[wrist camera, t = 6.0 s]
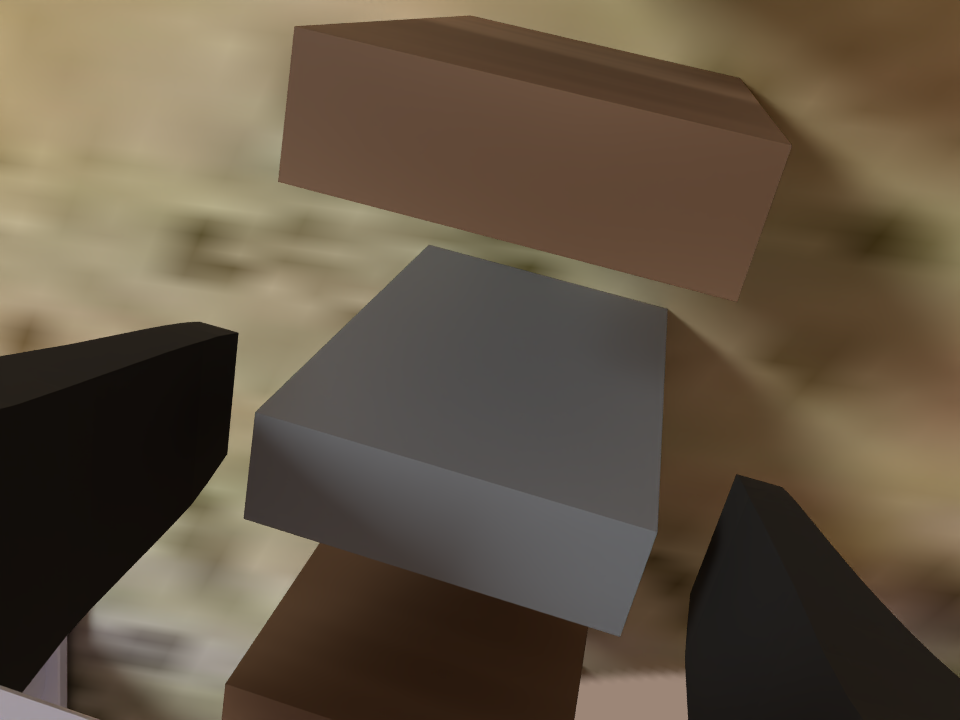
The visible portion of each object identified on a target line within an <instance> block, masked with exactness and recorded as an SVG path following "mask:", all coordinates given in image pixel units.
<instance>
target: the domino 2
mask: <svg viewBox="0 0 960 720" xmlns="http://www.w3.org/2000/svg"><path fill="white" fill-rule="evenodd" d="M587 631H588V627H587V626H584V625H581V624H578V623H574V622H571V621H568V620H565V619H562V618H559V617H555V616H552V615H549V614H546V613H543V612H539V611H536V610H533V609H530V608H527V607H523V606H520V605H517V604H514V603H511V602H508V601H504V600H501V599H498V598H495V597H492V596H488V595H485V594H482V593H479V592H476V591H473V590H469V589H466V588H463V587H460V586H457V585H453V584H450V583H447V582H444V581H441V580H437V579H434V578H431V577H428V576H425V575H422V574H418V573H415V572H412V571H409V570H406V569H402V568H399V567H396V566H393V565H390V564H386V563H383V562H380V561H377V560H374V559H371V558H367V557H364V556H361V555H358V554H355V553H351V552H348V551H345V550H342V549H339V548H335V547H332V546H329V545H326V544H323V543H319V545H318V546H317V548H316V549H315V551H314V552H313V554H312V555H311V557H310V558H309V560H308V561H307V563H306V564H305V566H304V567H303V569H302V570H301V572H300V573H299V575H298V576H297V578H296V579H295V581H294V582H293V584H292V585H291V587H290V588H289V590H288V591H287V593H286V594H285V596H284V597H283V599H282V600H281V602H280V603H279V605H278V606H277V608H276V609H275V611H274V612H273V614H272V615H271V617H270V618H269V620H268V621H267V623H266V624H265V626H264V627H263V629H262V630H261V632H260V633H259V635H258V636H257V638H256V639H255V641H254V642H253V644H252V645H251V647H250V648H249V649H248V651H247V652H246V654H245V655H244V657H243V658H242V660H241V661H240V663H239V664H238V666H237V667H236V669H235V670H234V672H233V673H232V675H231V676H230V678H229V679H228V681H227V682H226V684H225V693H224V703H223V712H222V720H574V718H575V711H576V704H577V698H578V691H579V685H580V678H581V671H582V665H583V658H584V651H585V645H586V638H587Z"/></svg>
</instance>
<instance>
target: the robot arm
mask: <svg viewBox="0 0 960 720" xmlns="http://www.w3.org/2000/svg"><path fill="white" fill-rule="evenodd" d="M237 343H238V333H237V332H234V331H230V330H227V329H223V328H220V327H216V326H213V325H209V324H206V323H202V322H187V323H178V324H172V325H165V326H160V327H154V328H149V329H144V330H139V331H134V332H129V333H124V334H119V335H114V336H109V337H104V338H99V339H94V340H89V341H84V342H79V343H74V344H69V345H64V346H58V347H52V348H46V349H40V350H34V351H28V352H23V353H17V354H11V355H5V356H0V720H99V719H97V718H94V717H91V716H88V715H85V714H82V713H79V712H76V711H73V710H70V709H68V708H67V635H68V634H69V633H70V632H71V631H72V629H73V628H74V627H75V626H76V625H77V624H78V623H79V622H80V620H81V619H82V618H83V617H84V616H85V615H86V614H87V613H88V611H89V610H90V609H91V608H92V607H93V606H94V605H95V604H96V603H97V602H98V601H99V600H100V599H101V598H102V597H103V596H104V595H105V594H106V593H107V592H108V591H109V590H110V589H111V588H112V587H113V586H114V585H115V584H116V583H117V582H118V581H119V579H120V578H121V577H122V576H123V575H124V574H125V573H126V572H127V571H128V570H129V569H130V568H131V567H132V566H133V565H134V564H135V563H136V562H137V561H138V560H139V559H140V558H141V557H142V556H143V555H144V554H145V553H146V552H147V551H148V550H149V549H150V548H151V547H152V546H153V545H154V544H155V543H156V542H157V541H158V539H159V538H160V537H161V536H162V535H163V534H164V533H165V532H166V531H167V530H168V529H169V528H170V527H171V526H172V525H173V524H174V523H175V522H176V521H177V520H178V518H179V517H180V516H181V515H182V514H183V513H184V512H185V511H186V510H187V509H188V508H189V507H190V506H191V504H192V503H193V502H194V500H195V499H196V498H197V496H198V495H199V494H200V492H201V491H202V490H203V488H204V487H205V486H206V484H207V483H208V481H209V480H210V479H211V477H212V476H213V474H214V473H215V471H216V470H217V468H218V467H219V465H220V464H221V462H222V461H223V459H224V458H225V457H226V455H227V451H228V440H229V429H230V419H231V408H232V397H233V386H234V376H235V365H236V354H237ZM685 669H686V687H687V705H688V706H687V707H688V720H960V678H959V677H958V676H957V675H955V674H954V673H953V672H952V671H951V670H950V669H949V668H948V667H947V666H945V665H944V664H943V663H942V662H941V661H940V660H939V659H938V658H936V657H935V656H934V655H933V654H932V653H931V652H930V651H929V650H928V649H927V648H926V647H925V646H924V645H923V644H922V643H921V642H920V641H919V640H918V639H917V638H915V637H914V636H913V635H912V634H911V632H910V631H909V630H908V629H907V628H906V627H905V626H904V625H903V624H902V623H901V622H900V621H899V620H898V619H897V618H896V617H895V616H894V615H893V614H892V613H891V612H890V611H889V610H888V609H887V607H886V606H885V605H884V604H883V603H882V602H881V601H880V600H879V599H878V598H877V597H876V596H875V595H874V593H873V592H872V591H871V590H870V589H869V588H868V587H867V586H866V585H865V584H864V582H863V581H862V580H861V579H860V578H859V577H858V576H857V574H856V573H855V572H854V571H853V570H852V569H851V567H850V566H849V565H848V564H847V563H846V562H845V560H844V559H843V558H842V557H841V556H840V554H839V553H838V552H837V551H836V550H835V548H834V547H833V546H832V545H831V544H830V542H829V541H828V540H827V539H826V538H825V536H824V535H823V534H822V533H821V531H820V530H819V529H818V528H817V527H816V525H815V524H814V523H813V522H812V520H811V519H810V518H809V517H808V516H807V514H806V513H805V512H804V511H803V510H802V508H801V507H800V506H799V505H798V504H797V502H796V501H795V500H794V499H793V498H792V497H791V496H790V495H789V494H788V493H787V492H786V491H785V490H784V489H783V488H782V487H780V486H776V485H773V484H769V483H765V482H762V481H758V480H755V479H751V478H748V477H744V476H741V475H737V474H736V477H735V479H734V482H733V485H732V487H731V490H730V492H729V495H728V498H727V500H726V503H725V505H724V508H723V510H722V513H721V516H720V518H719V521H718V523H717V526H716V529H715V531H714V534H713V536H712V539H711V542H710V544H709V547H708V549H707V552H706V555H705V557H704V560H703V562H702V565H701V567H700V570H699V573H698V575H697V578H696V580H695V583H694V586H693V588H692V591H691V593H690V603H689V614H688V624H687V637H686V650H685Z"/></svg>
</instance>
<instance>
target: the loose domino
mask: <svg viewBox="0 0 960 720" xmlns="http://www.w3.org/2000/svg"><path fill="white" fill-rule="evenodd" d="M667 311H668V309H666V308H662V307H658V306H655V305H651V304H647V303H643V302H640V301H636V300H632V299H629V298H625V297H621V296H617V295H614V294H610V293H606V292H603V291H599V290H595V289H591V288H588V287H584V286H580V285H577V284H573V283H569V282H565V281H562V280H558V279H554V278H551V277H547V276H543V275H539V274H536V273H532V272H528V271H524V270H521V269H517V268H513V267H510V266H506V265H502V264H498V263H495V262H491V261H487V260H484V259H480V258H476V257H472V256H469V255H465V254H461V253H458V252H454V251H450V250H446V249H443V248H439V247H435V246H431V245H428V246H427V247H426V248H425V249H424V250H423V251H422V252H421V253H420V254H419V255H418V256H417V257H416V258H415V259H414V260H413V261H412V262H411V263H410V264H408V265H407V266H406V267H405V268H404V269H403V270H402V271H401V272H400V273H399V274H398V275H397V276H396V277H395V278H394V279H393V280H392V281H391V282H390V283H389V284H388V285H387V286H386V287H385V288H384V289H383V290H382V291H380V292H379V293H378V294H377V295H376V296H375V297H374V298H373V299H372V300H371V301H370V302H369V303H368V304H367V305H366V306H365V307H364V308H363V309H362V310H361V311H360V312H359V313H358V314H357V315H356V316H355V317H353V318H352V319H351V320H350V321H349V322H348V323H347V324H346V325H345V326H344V327H343V328H342V329H341V330H340V331H339V332H338V333H337V334H336V335H335V336H334V337H333V338H332V339H331V340H330V341H329V342H328V343H327V344H325V345H324V346H323V347H322V348H321V349H320V350H319V351H318V352H317V353H316V354H315V355H314V356H313V357H312V358H311V359H310V360H309V361H308V362H307V363H306V364H305V365H304V366H303V367H302V368H301V369H300V370H299V371H297V372H296V373H295V374H294V375H293V376H292V377H291V378H290V379H289V380H288V381H287V382H286V383H285V384H284V385H283V386H282V387H281V388H280V389H279V390H278V391H277V392H276V393H275V394H274V395H273V396H272V397H271V398H269V399H268V400H267V401H266V402H265V403H264V404H263V405H262V406H261V407H260V408H259V409H258V410H257V411H256V412H255V419H254V428H253V438H252V447H251V456H250V465H249V474H248V483H247V493H246V502H245V511H244V519H246V520H249V521H253V522H256V523H259V524H262V525H265V526H269V527H272V528H275V529H278V530H281V531H285V532H288V533H291V534H294V535H297V536H300V537H304V538H307V539H310V540H313V541H316V542H320V543H323V544H326V545H329V546H332V547H335V548H339V549H342V550H345V551H348V552H351V553H355V554H358V555H361V556H364V557H367V558H371V559H374V560H377V561H380V562H383V563H386V564H390V565H393V566H396V567H399V568H402V569H406V570H409V571H412V572H415V573H418V574H422V575H425V576H428V577H431V578H434V579H437V580H441V581H444V582H447V583H450V584H453V585H457V586H460V587H463V588H466V589H469V590H473V591H476V592H479V593H482V594H485V595H488V596H492V597H495V598H498V599H501V600H504V601H508V602H511V603H514V604H517V605H520V606H523V607H527V608H530V609H533V610H536V611H539V612H543V613H546V614H549V615H552V616H555V617H559V618H562V619H565V620H568V621H571V622H574V623H578V624H581V625H584V626H587V627H590V628H594V629H597V630H600V631H603V632H606V633H610V634H613V635H616V636H619V637H620V635H621V633H622V630H623V627H624V624H625V622H626V619H627V616H628V613H629V610H630V608H631V605H632V602H633V599H634V596H635V594H636V591H637V588H638V585H639V582H640V580H641V577H642V574H643V571H644V568H645V566H646V563H647V560H648V557H649V554H650V552H651V549H652V546H653V543H654V540H655V538H656V535H657V531H658V509H659V487H660V465H661V443H662V421H663V399H664V377H665V355H666V333H667Z"/></svg>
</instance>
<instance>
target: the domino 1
mask: <svg viewBox="0 0 960 720" xmlns="http://www.w3.org/2000/svg"><path fill="white" fill-rule="evenodd" d="M791 147H792V145H791V143H790V142H789V141H788V140H787V138H786V137H785V136H784V134H783V133H782V132H781V131H780V129H779V128H778V127H777V125H776V124H775V123H774V122H773V120H772V119H771V118H770V116H769V115H768V114H767V113H766V111H765V110H764V109H763V107H762V106H761V105H760V103H759V102H758V101H757V100H756V98H755V97H754V96H753V94H752V93H751V92H750V91H749V89H748V88H747V87H746V85H745V84H744V83H743V82H742V80H741V79H740V78H737V77H733V76H728V75H724V74H720V73H715V72H711V71H707V70H702V69H698V68H694V67H690V66H685V65H681V64H677V63H672V62H668V61H664V60H659V59H655V58H651V57H646V56H642V55H638V54H634V53H629V52H625V51H621V50H616V49H612V48H608V47H603V46H599V45H595V44H591V43H586V42H582V41H578V40H573V39H569V38H565V37H560V36H556V35H552V34H548V33H543V32H539V31H535V30H530V29H526V28H522V27H517V26H513V25H509V24H504V23H500V22H496V21H492V20H487V19H483V18H479V17H474V16H456V17H440V18H423V19H407V20H390V21H374V22H358V23H341V24H325V25H309V26H295V27H294V36H293V46H292V55H291V65H290V74H289V84H288V93H287V103H286V112H285V122H284V132H283V141H282V151H281V160H280V170H279V179H278V182H281V183H285V184H289V185H293V186H296V187H300V188H304V189H308V190H312V191H315V192H319V193H323V194H327V195H331V196H335V197H338V198H342V199H346V200H350V201H354V202H357V203H361V204H365V205H369V206H373V207H377V208H380V209H384V210H388V211H392V212H396V213H399V214H403V215H407V216H411V217H415V218H419V219H422V220H426V221H430V222H434V223H438V224H441V225H445V226H449V227H453V228H457V229H461V230H464V231H468V232H472V233H476V234H480V235H483V236H487V237H491V238H495V239H499V240H503V241H506V242H510V243H514V244H518V245H522V246H525V247H529V248H533V249H537V250H541V251H545V252H548V253H552V254H556V255H560V256H564V257H567V258H571V259H575V260H579V261H583V262H587V263H590V264H594V265H598V266H602V267H606V268H609V269H613V270H617V271H621V272H625V273H629V274H632V275H636V276H640V277H644V278H648V279H651V280H655V281H659V282H663V283H667V284H671V285H674V286H678V287H682V288H686V289H690V290H693V291H697V292H701V293H705V294H709V295H713V296H716V297H720V298H724V299H728V300H732V301H735V302H737V301H738V298H739V295H740V292H741V289H742V287H743V284H744V281H745V278H746V275H747V272H748V270H749V267H750V264H751V261H752V258H753V255H754V253H755V250H756V247H757V244H758V241H759V238H760V235H761V233H762V230H763V227H764V224H765V221H766V218H767V216H768V213H769V210H770V207H771V204H772V201H773V199H774V196H775V193H776V190H777V187H778V184H779V182H780V179H781V176H782V173H783V170H784V167H785V164H786V162H787V159H788V156H789V153H790V150H791Z"/></svg>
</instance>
